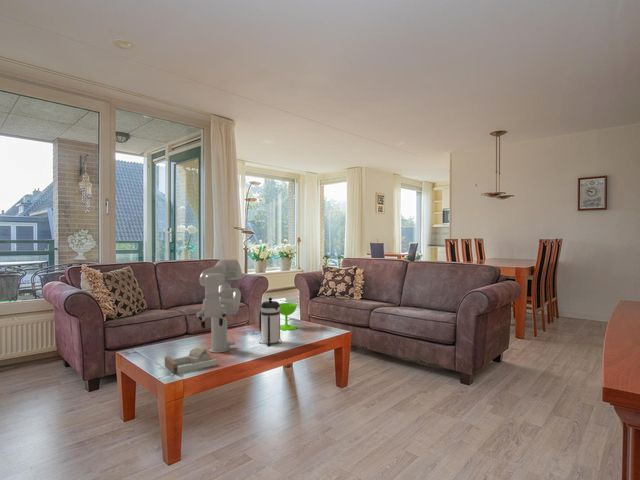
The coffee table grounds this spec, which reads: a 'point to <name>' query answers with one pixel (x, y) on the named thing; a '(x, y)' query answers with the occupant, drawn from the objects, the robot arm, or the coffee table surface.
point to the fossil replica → (198, 355)
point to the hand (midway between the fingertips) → (212, 326)
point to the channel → (172, 365)
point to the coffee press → (270, 322)
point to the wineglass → (287, 310)
